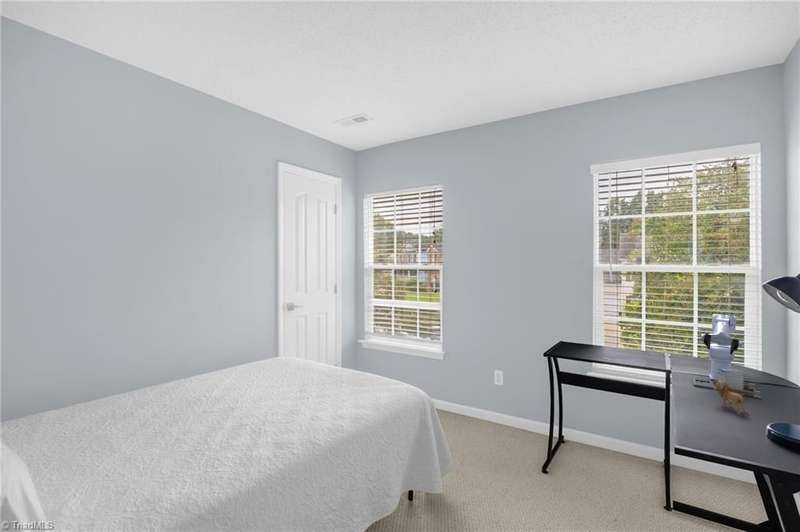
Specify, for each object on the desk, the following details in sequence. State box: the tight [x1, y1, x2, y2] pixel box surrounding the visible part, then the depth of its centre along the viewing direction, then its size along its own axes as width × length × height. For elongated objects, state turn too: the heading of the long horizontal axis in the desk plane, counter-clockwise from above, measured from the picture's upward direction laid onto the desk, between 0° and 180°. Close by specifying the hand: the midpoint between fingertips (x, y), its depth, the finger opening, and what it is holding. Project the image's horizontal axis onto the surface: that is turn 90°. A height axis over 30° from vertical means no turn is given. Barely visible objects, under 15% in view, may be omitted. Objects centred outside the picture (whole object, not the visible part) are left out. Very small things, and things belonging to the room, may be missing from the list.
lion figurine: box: [713, 382, 750, 417], centre depth 147 cm, size 15×5×9 cm, turn 179°
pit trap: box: [692, 378, 714, 390], centre depth 177 cm, size 11×7×1 cm, turn 145°
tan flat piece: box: [713, 379, 761, 399], centre depth 171 cm, size 14×14×2 cm
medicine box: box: [718, 368, 745, 391], centre depth 172 cm, size 8×4×9 cm, turn 84°
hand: (720, 349), depth 172 cm, fingers open, 7 cm apart
